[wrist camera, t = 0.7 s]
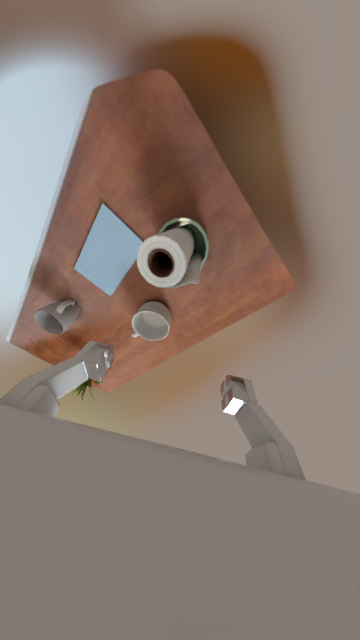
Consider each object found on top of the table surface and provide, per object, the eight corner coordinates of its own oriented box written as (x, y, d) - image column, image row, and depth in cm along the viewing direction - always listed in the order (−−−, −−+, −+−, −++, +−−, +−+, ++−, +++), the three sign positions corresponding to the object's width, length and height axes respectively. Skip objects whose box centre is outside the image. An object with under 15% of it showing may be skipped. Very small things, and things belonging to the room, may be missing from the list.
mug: (79, 321, 55) (58, 339, 47) (56, 306, 52) (30, 321, 44) (92, 302, 49) (71, 318, 41) (67, 284, 46) (39, 297, 39)
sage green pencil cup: (164, 217, 33) (153, 217, 25) (210, 218, 32) (211, 218, 24) (166, 264, 38) (157, 275, 31) (205, 266, 37) (205, 277, 30)
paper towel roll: (165, 235, 35) (125, 252, 17) (188, 219, 32) (168, 222, 15) (180, 263, 38) (158, 303, 20) (202, 251, 35) (199, 284, 18)
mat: (103, 203, 33) (102, 202, 32) (146, 244, 36) (146, 244, 36) (75, 267, 43) (73, 268, 42) (111, 295, 46) (110, 296, 46)
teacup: (163, 292, 43) (156, 305, 37) (179, 320, 48) (175, 337, 42) (127, 307, 48) (115, 321, 42) (145, 331, 53) (136, 347, 47)
